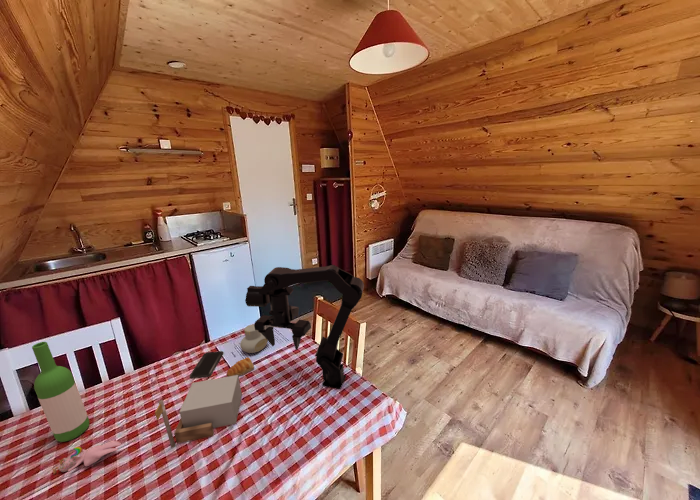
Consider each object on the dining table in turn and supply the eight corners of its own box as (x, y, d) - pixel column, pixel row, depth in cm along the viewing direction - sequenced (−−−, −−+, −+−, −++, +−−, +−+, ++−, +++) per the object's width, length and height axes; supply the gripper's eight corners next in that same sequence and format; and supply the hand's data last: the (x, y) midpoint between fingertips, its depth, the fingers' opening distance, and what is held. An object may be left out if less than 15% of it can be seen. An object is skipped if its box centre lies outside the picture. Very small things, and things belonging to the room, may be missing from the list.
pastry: (231, 382, 105) (229, 373, 104) (224, 373, 110) (222, 365, 109) (256, 369, 112) (254, 360, 111) (248, 361, 116) (246, 353, 115)
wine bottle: (63, 427, 90) (28, 341, 82) (94, 417, 93) (64, 333, 85) (50, 448, 83) (11, 356, 75) (84, 437, 86) (50, 347, 78)
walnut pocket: (225, 392, 100) (217, 354, 96) (209, 448, 80) (198, 403, 76) (191, 398, 99) (182, 360, 94) (166, 457, 78) (153, 411, 74)
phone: (223, 350, 123) (210, 375, 108) (224, 353, 123) (210, 377, 109) (204, 352, 122) (188, 377, 108) (205, 355, 123) (188, 379, 108)
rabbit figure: (52, 484, 75) (116, 461, 77) (40, 468, 73) (105, 445, 75) (69, 461, 80) (128, 441, 83) (57, 445, 79) (118, 425, 81)
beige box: (242, 395, 99) (238, 374, 97) (236, 424, 88) (231, 402, 86) (197, 403, 97) (192, 382, 95) (185, 434, 85) (179, 411, 83)
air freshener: (251, 358, 118) (248, 336, 115) (237, 353, 122) (233, 331, 119) (271, 344, 127) (268, 323, 124) (258, 339, 131) (254, 319, 128)
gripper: (315, 298, 101) (319, 338, 106) (269, 293, 107) (274, 331, 112) (300, 313, 91) (305, 356, 96) (250, 307, 97) (256, 348, 102)
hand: (285, 347), depth 101 cm, fingers open, 9 cm apart
